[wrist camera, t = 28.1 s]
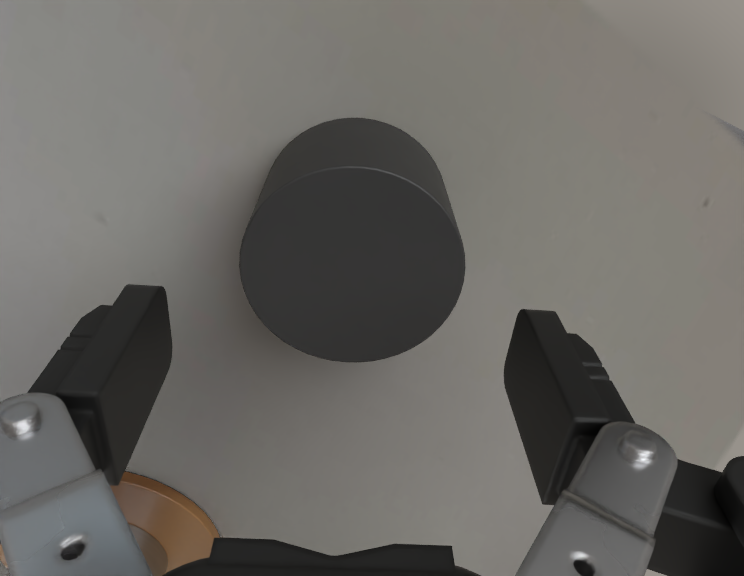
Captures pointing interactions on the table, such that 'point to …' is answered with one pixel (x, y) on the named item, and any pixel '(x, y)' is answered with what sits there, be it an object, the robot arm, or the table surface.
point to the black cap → (353, 244)
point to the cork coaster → (164, 519)
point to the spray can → (151, 551)
